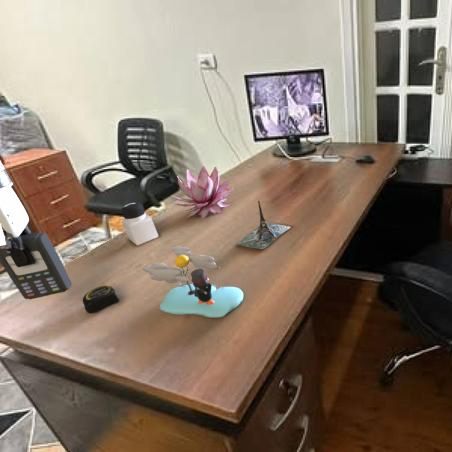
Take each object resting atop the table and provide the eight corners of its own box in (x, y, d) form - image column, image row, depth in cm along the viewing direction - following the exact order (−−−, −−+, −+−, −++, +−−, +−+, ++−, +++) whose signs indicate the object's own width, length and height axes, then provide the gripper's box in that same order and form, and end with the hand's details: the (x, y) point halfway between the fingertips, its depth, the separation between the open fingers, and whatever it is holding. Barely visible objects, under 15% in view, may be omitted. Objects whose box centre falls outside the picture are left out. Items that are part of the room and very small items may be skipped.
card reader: (23, 303, 80) (-13, 248, 72) (30, 292, 83) (-4, 238, 76) (68, 292, 82) (38, 238, 75) (73, 283, 85) (45, 229, 78)
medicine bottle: (159, 236, 115) (146, 204, 109) (137, 246, 111) (122, 212, 105) (150, 230, 120) (138, 198, 114) (129, 239, 115) (115, 206, 109)
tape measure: (90, 319, 82) (83, 307, 80) (86, 304, 87) (79, 292, 85) (121, 305, 86) (115, 293, 84) (116, 292, 91) (110, 280, 89)
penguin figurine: (250, 293, 85) (237, 241, 78) (228, 325, 76) (210, 270, 69) (181, 285, 91) (162, 235, 83) (153, 314, 82) (129, 261, 74)
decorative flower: (185, 232, 116) (171, 190, 109) (173, 210, 133) (160, 173, 125) (246, 212, 126) (237, 172, 118) (227, 194, 142) (218, 158, 135)
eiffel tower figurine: (265, 222, 117) (258, 185, 111) (291, 227, 113) (284, 189, 107) (237, 245, 106) (226, 206, 99) (264, 251, 102) (255, 210, 95)
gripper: (-23, 174, 75) (20, 246, 83) (-59, 202, 61) (-4, 285, 70) (20, 167, 77) (57, 238, 86) (-6, 192, 64) (41, 273, 73)
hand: (29, 258), depth 78 cm, fingers closed on card reader, 4 cm apart
